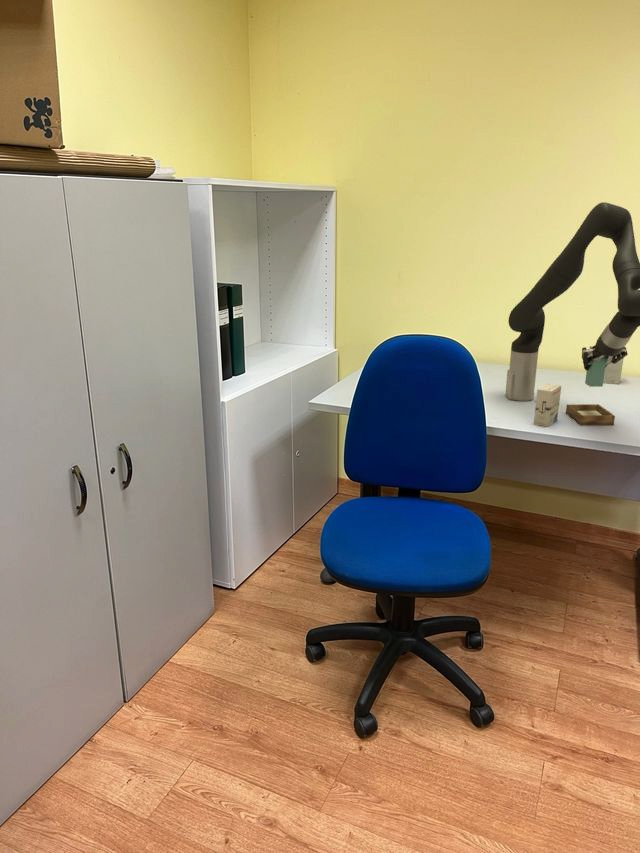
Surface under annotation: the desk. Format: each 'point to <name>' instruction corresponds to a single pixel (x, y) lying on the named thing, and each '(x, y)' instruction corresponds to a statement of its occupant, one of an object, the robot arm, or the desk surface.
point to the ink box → (547, 404)
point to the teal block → (596, 373)
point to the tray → (590, 414)
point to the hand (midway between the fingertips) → (593, 367)
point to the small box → (613, 372)
